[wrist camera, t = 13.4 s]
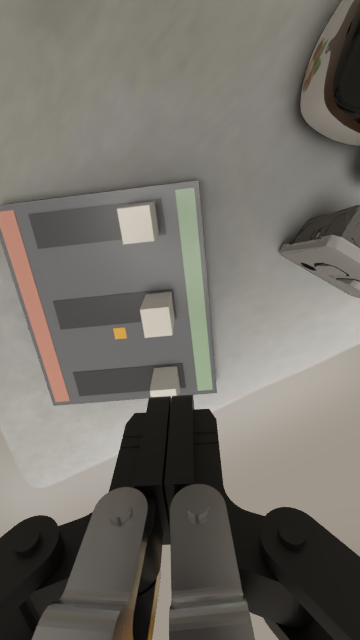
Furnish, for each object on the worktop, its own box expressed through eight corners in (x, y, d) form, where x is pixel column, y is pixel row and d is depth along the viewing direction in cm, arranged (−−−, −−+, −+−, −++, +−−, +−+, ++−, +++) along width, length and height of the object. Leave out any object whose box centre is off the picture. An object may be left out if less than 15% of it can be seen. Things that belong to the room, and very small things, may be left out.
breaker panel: (4, 204, 31) (-11, 206, 28) (197, 180, 29) (198, 180, 27) (61, 392, 39) (53, 406, 37) (215, 379, 38) (216, 393, 35)
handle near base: (126, 204, 28) (116, 208, 24) (154, 201, 28) (149, 205, 24) (131, 236, 29) (123, 244, 25) (159, 233, 29) (154, 241, 25)
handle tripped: (145, 294, 31) (139, 309, 27) (171, 291, 31) (168, 306, 27) (149, 319, 32) (144, 337, 28) (174, 317, 32) (172, 335, 28)
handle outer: (154, 368, 34) (149, 390, 30) (177, 366, 34) (175, 388, 30) (157, 389, 35) (153, 413, 31) (180, 387, 35) (178, 411, 31)
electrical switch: (275, 251, 32) (314, 267, 23) (306, 201, 30) (360, 197, 22) (352, 296, 33) (416, 327, 25) (385, 250, 32) (466, 266, 23)
